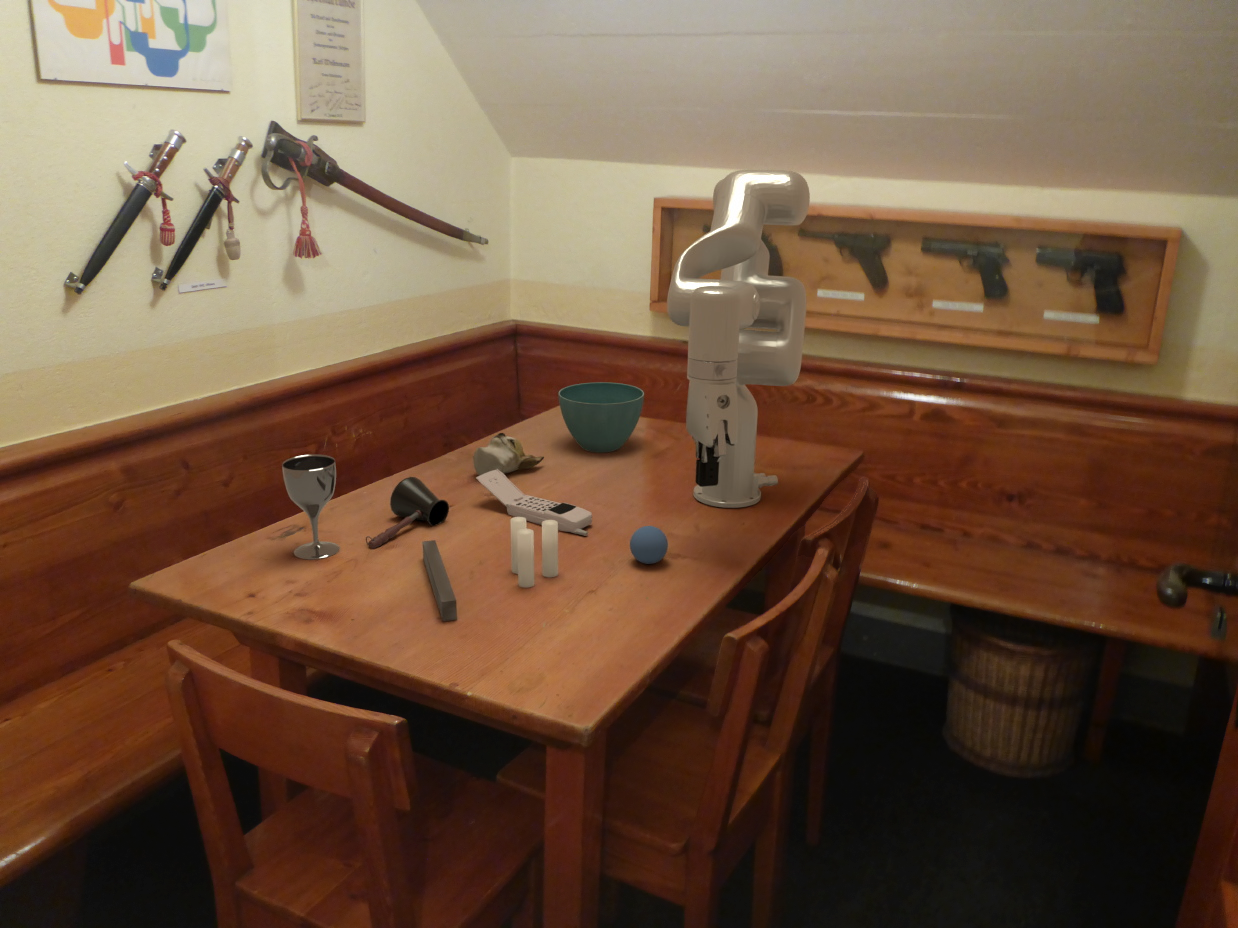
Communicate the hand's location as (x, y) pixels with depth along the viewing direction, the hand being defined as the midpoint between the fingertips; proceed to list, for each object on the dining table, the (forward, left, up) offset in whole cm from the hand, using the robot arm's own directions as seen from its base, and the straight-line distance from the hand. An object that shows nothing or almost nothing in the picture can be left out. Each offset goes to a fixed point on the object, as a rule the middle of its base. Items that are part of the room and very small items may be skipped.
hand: (706, 484), depth 153 cm
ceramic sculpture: (+23, -50, -13) cm, 56 cm away
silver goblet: (+59, -20, -13) cm, 64 cm away
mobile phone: (+22, -25, -13) cm, 35 cm away
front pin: (+25, -1, -13) cm, 28 cm away
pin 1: (+29, -3, -13) cm, 32 cm away
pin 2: (+29, +2, -13) cm, 32 cm away
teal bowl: (-1, -61, -13) cm, 62 cm away
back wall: (+42, -1, -13) cm, 44 cm away
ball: (+9, -1, -10) cm, 13 cm away
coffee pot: (+45, -26, -13) cm, 54 cm away
